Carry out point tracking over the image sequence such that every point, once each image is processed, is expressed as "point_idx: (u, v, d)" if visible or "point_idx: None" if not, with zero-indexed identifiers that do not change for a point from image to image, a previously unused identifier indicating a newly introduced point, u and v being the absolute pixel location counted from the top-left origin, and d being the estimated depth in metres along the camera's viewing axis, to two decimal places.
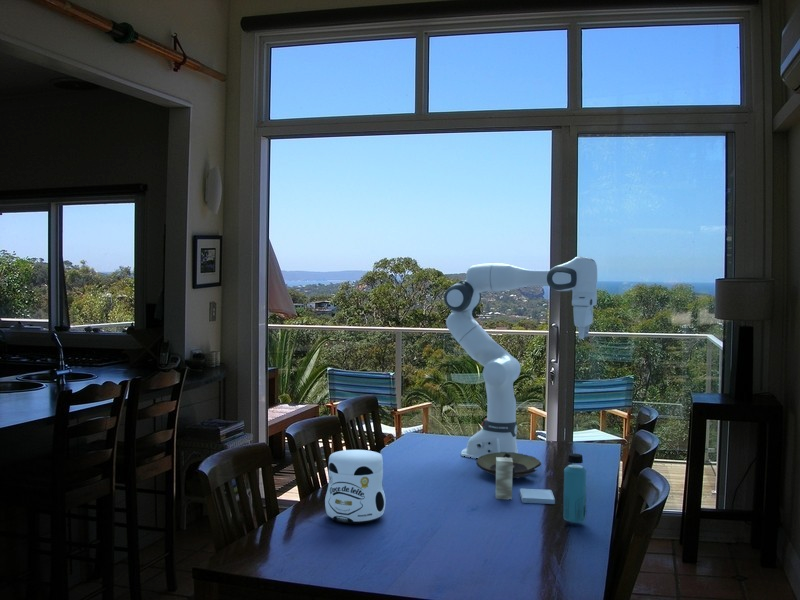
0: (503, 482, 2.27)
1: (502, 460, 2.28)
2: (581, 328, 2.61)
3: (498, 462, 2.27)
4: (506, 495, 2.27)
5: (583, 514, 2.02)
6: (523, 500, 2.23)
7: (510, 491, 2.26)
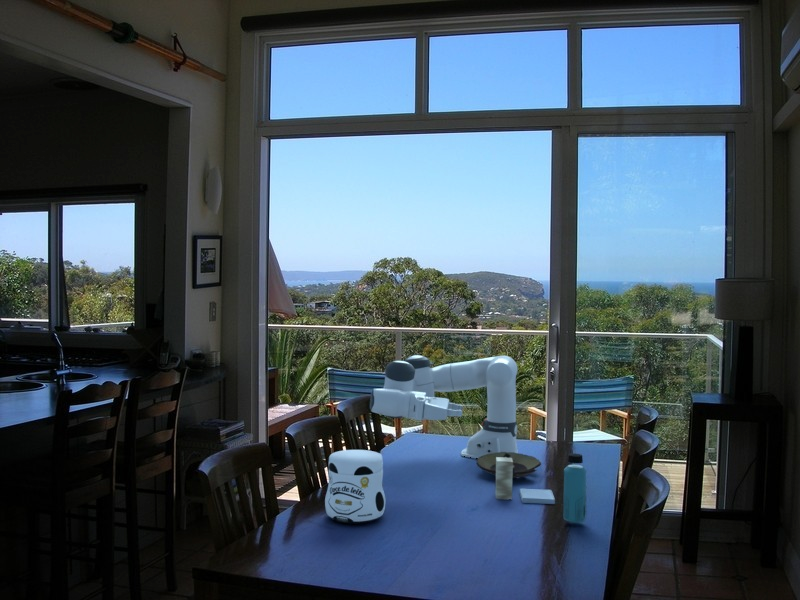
0: (503, 482, 2.27)
1: (502, 460, 2.27)
2: (449, 412, 2.24)
3: (498, 462, 2.27)
4: (506, 495, 2.27)
5: (583, 514, 2.02)
6: (523, 500, 2.23)
7: (510, 491, 2.26)
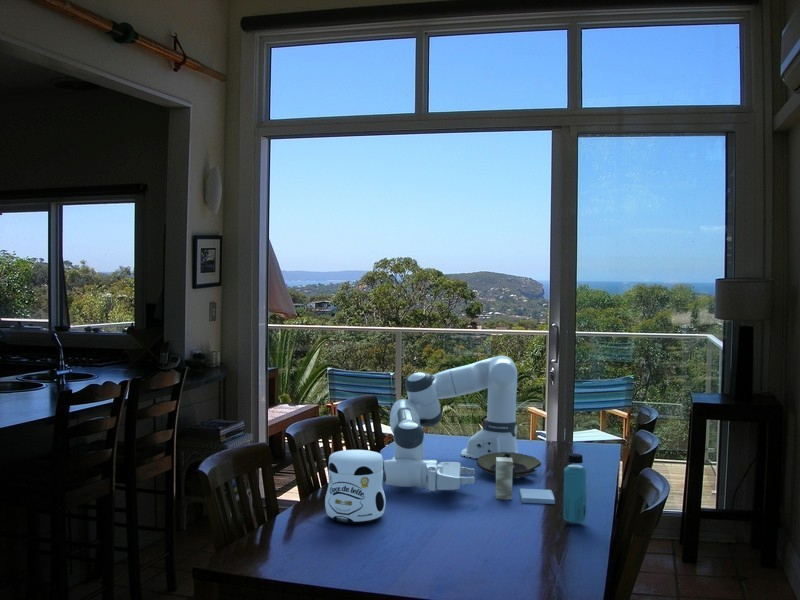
0: (503, 482, 2.27)
1: (502, 460, 2.28)
2: (462, 480, 2.23)
3: (498, 462, 2.27)
4: (506, 495, 2.27)
5: (583, 514, 2.02)
6: (523, 500, 2.23)
7: (510, 491, 2.26)
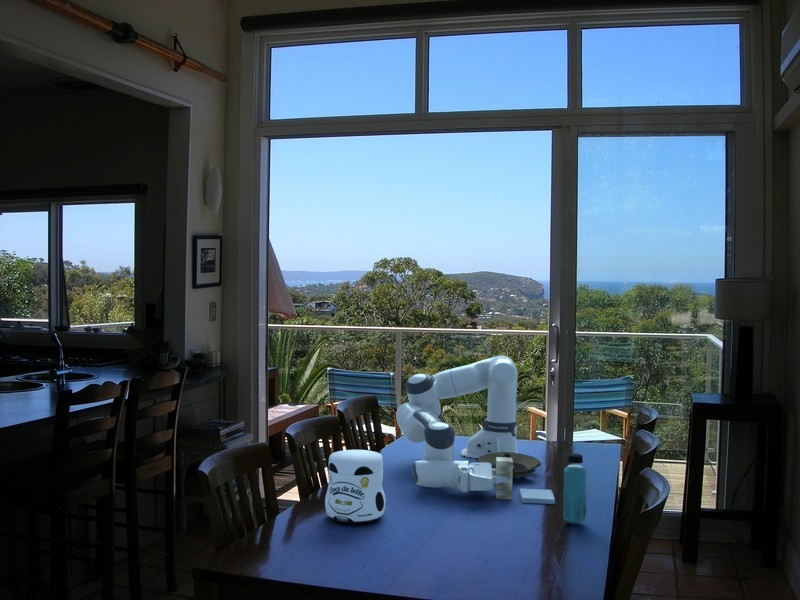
0: None
1: (502, 460, 2.27)
2: (495, 479, 2.24)
3: (498, 462, 2.27)
4: (506, 495, 2.27)
5: (583, 514, 2.02)
6: (523, 500, 2.23)
7: (510, 491, 2.26)
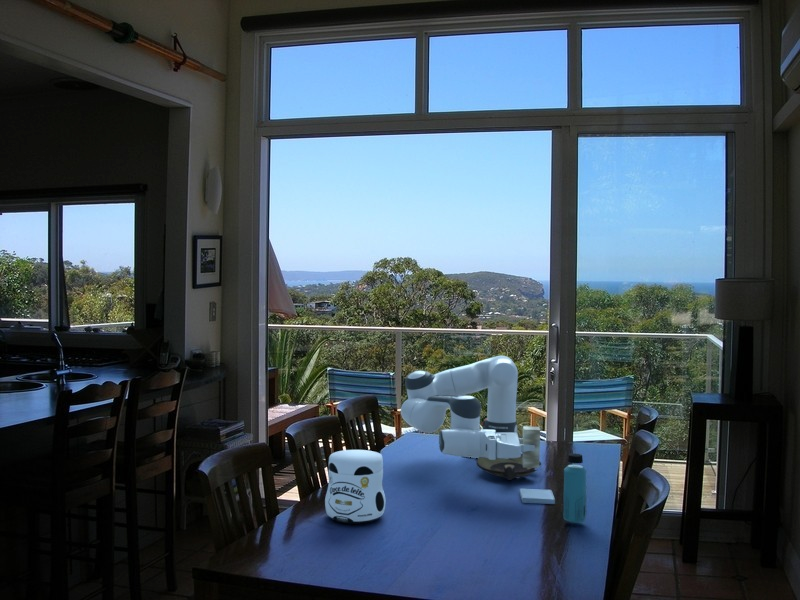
0: None
1: (529, 428, 2.26)
2: (522, 447, 2.23)
3: (525, 430, 2.25)
4: (534, 464, 2.25)
5: (583, 514, 2.02)
6: (523, 500, 2.23)
7: (537, 460, 2.25)
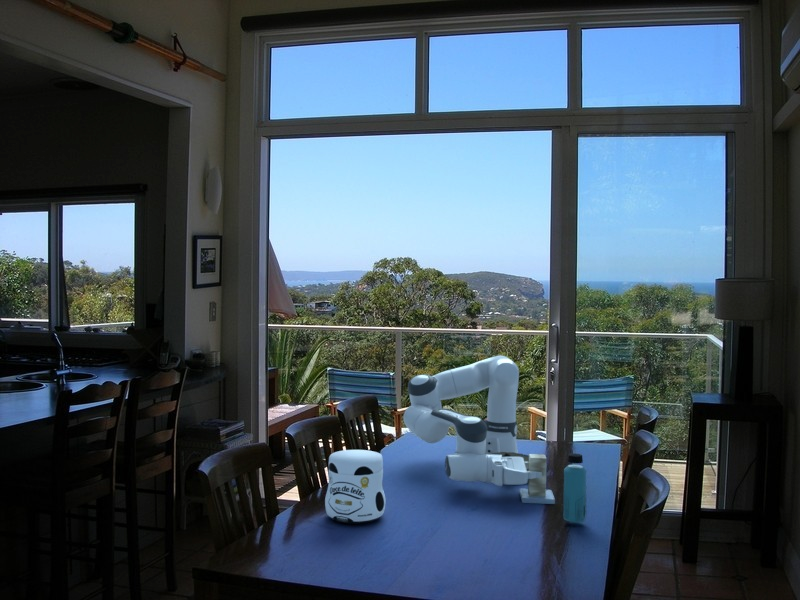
0: (536, 479, 2.25)
1: (535, 457, 2.26)
2: (529, 474, 2.21)
3: (532, 459, 2.25)
4: (540, 492, 2.25)
5: (583, 514, 2.02)
6: (523, 500, 2.23)
7: (544, 488, 2.25)
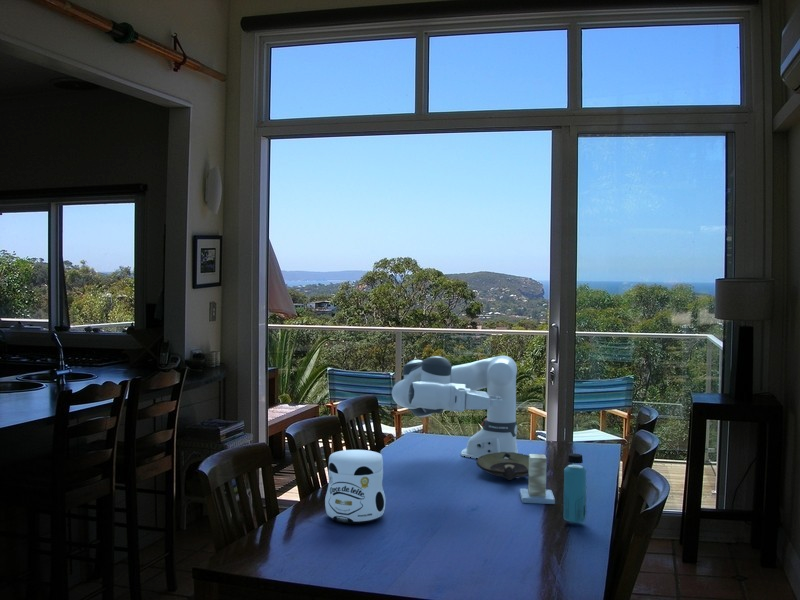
0: (536, 479, 2.25)
1: (535, 457, 2.26)
2: (491, 401, 2.23)
3: (532, 459, 2.25)
4: (540, 492, 2.25)
5: (583, 514, 2.02)
6: (523, 500, 2.23)
7: (544, 488, 2.25)
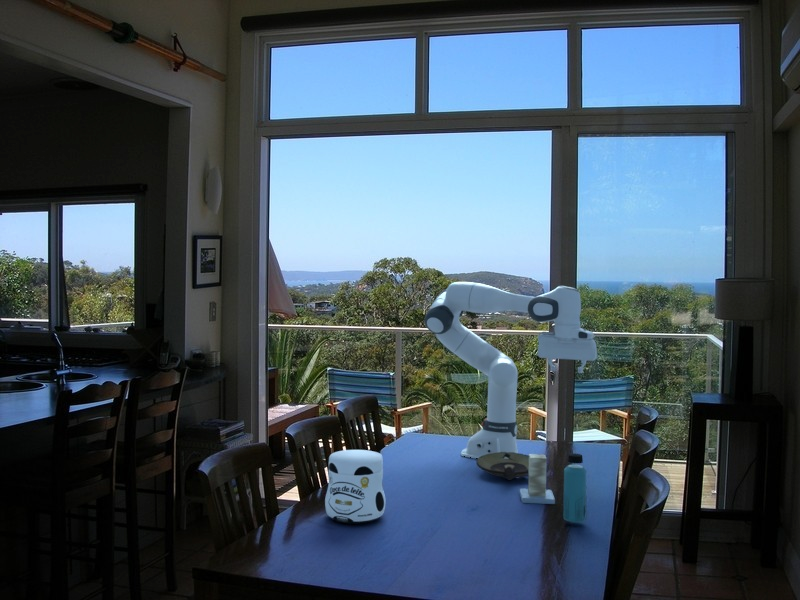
0: (536, 479, 2.25)
1: (535, 457, 2.26)
2: (585, 362, 2.50)
3: (532, 459, 2.25)
4: (540, 492, 2.25)
5: (583, 514, 2.02)
6: (523, 500, 2.23)
7: (544, 488, 2.25)
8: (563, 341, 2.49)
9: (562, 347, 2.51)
